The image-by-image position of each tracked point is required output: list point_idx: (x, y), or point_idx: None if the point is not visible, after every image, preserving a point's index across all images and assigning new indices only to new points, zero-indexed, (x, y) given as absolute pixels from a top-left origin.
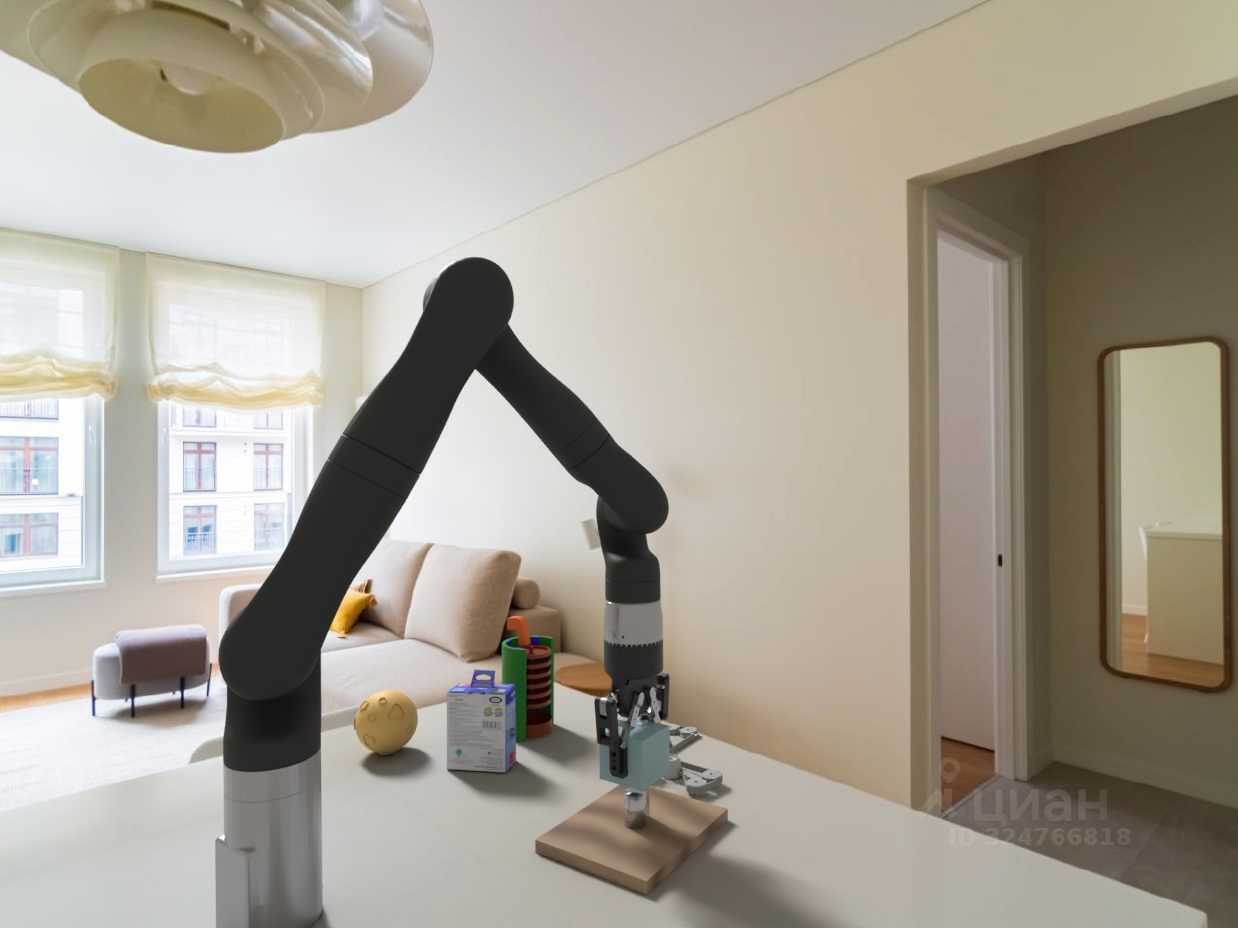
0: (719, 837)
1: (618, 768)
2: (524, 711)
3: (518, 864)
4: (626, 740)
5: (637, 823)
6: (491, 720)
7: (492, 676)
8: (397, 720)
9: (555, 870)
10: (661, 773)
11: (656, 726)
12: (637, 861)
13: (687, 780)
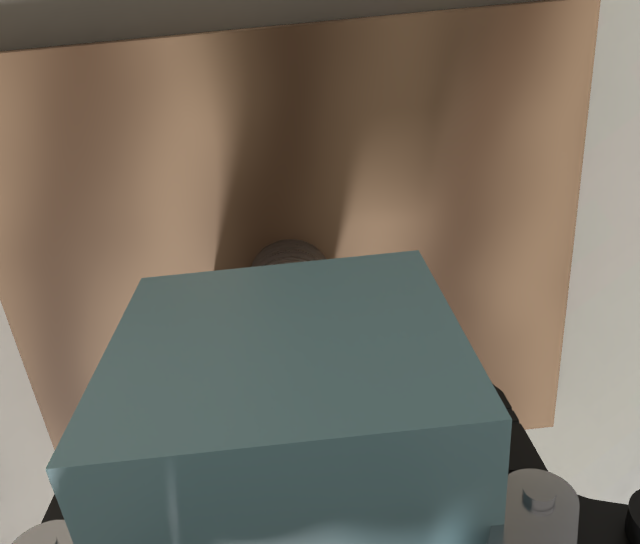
0: (80, 5)
1: (508, 405)
2: None
3: (610, 392)
4: (519, 512)
5: (318, 254)
6: None
7: None
8: None
9: (589, 306)
10: (227, 279)
11: (148, 521)
12: (502, 109)
13: None
